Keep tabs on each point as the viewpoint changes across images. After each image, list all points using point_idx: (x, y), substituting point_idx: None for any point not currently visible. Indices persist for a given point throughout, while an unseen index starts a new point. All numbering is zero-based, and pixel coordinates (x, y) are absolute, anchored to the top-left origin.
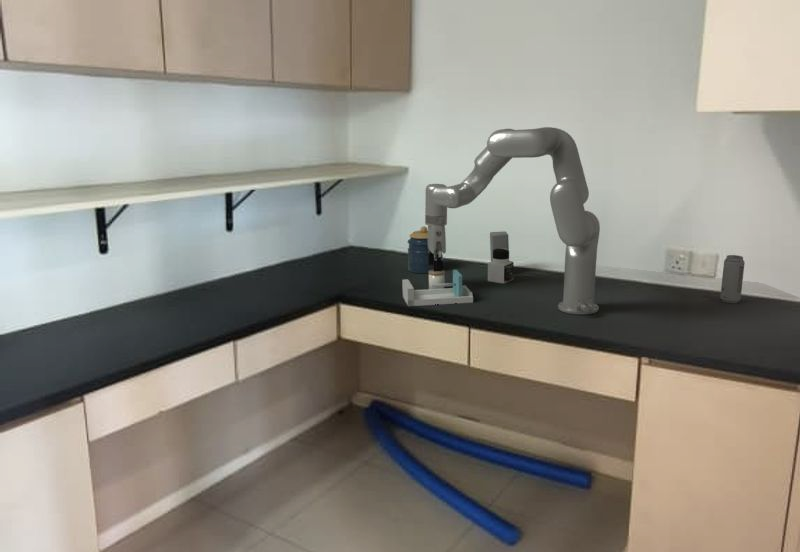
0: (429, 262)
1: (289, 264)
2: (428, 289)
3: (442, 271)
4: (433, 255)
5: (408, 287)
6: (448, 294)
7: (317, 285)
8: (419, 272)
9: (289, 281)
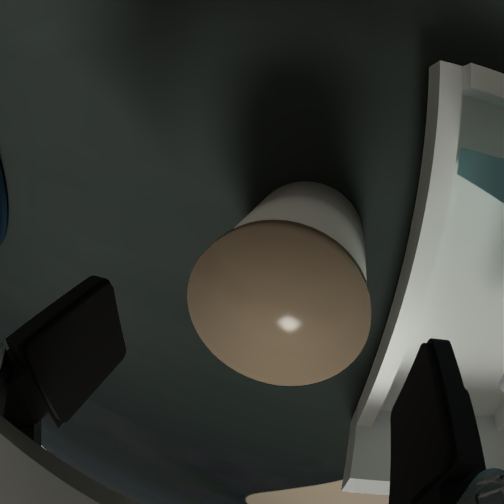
0: (114, 363)
1: None
2: (390, 341)
3: (300, 263)
4: (54, 379)
5: None
6: (459, 209)
7: (157, 487)
8: (5, 222)
9: (129, 490)
